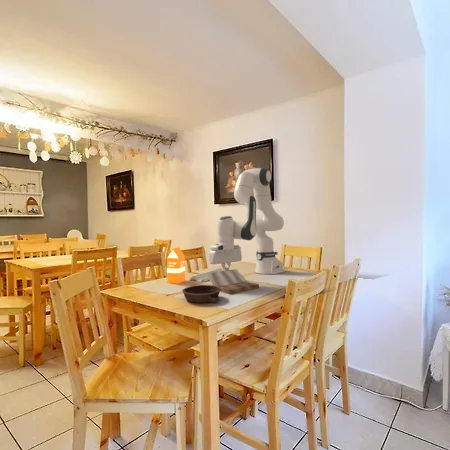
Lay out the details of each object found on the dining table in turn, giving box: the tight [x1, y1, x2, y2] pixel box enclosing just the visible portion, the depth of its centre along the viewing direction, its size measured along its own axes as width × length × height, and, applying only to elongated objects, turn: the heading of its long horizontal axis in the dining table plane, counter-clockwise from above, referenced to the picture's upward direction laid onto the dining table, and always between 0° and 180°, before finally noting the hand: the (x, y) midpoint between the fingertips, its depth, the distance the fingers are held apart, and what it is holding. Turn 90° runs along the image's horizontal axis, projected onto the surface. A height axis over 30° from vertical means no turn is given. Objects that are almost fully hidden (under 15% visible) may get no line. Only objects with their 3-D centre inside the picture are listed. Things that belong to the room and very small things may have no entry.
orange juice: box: [166, 247, 186, 284], centre depth 175 cm, size 8×9×20 cm
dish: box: [182, 284, 221, 304], centre depth 136 cm, size 18×22×5 cm
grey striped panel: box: [207, 268, 248, 287], centre depth 162 cm, size 20×11×2 cm, turn 127°
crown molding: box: [188, 267, 223, 283], centre depth 189 cm, size 31×12×4 cm, turn 150°
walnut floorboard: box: [219, 280, 260, 295], centre depth 154 cm, size 20×9×2 cm, turn 127°
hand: (226, 270), depth 162 cm, fingers closed
